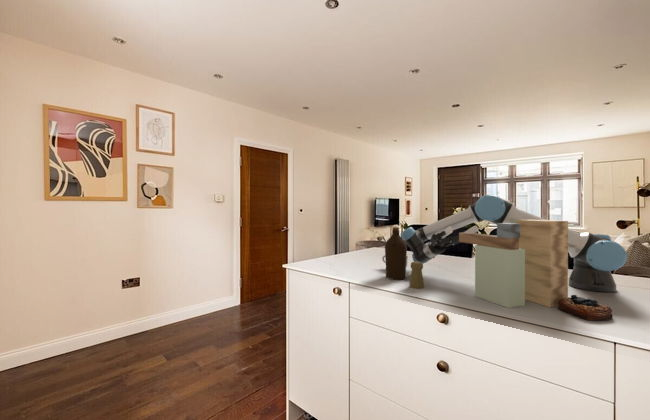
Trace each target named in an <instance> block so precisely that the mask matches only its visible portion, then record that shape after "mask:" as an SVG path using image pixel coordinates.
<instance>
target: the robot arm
mask: <svg viewBox="0 0 650 420" xmlns="http://www.w3.org/2000/svg"><path fill="white" fill-rule="evenodd" d="M517 220H546V219H544V218H542V217H541V216H537V215H535V214H532V213H529V212H528V211H525V210H523V209H520V208H518V207H516V204H515V203H514V202H511V201H509V200H507V199H504V198H501V197H500V196H498V195H497V194H496V195H495V194H485V195H483V196H480V197H479V198H478V199H477V200H476V202H475V203H473V204H470V205H469V206H468V208H465V209H464V210H461V211H458V212H456V213H455V214H452V215H449V216H447V217H444V218H442V219H439V220H437V221H434V222H432V223H430V224H427V225H425V226H423V227H420V228H418V229H416V230H415V229H414V228H413V227H412V226H410V227H408V228H406V229H405V230H403V231H402V232H401V233H400V237H401V238H402V239H403V240H404V241H405V242H406V245H407V247H408V248H409V249H410V251H411V253H412V254H411V255H412V256H411V257H412V262H415V261H417V262H421V263H422V264H423V265H424V264H425V263H426V264H427V262H429V261H431V260H432V259H435V258H436V257H437V256H439V255H441V254H442V253H444V252H445V251H446V249H447V247H449V246H451V247H452V246H455V245H457V244H460V243H461V242H459V234H457V235H454V236H449V235H450V234H452V233H453V232H454V231H455V230H457V229H460V228H463V227H465V226H468V225H470V224H473V223H481V222H484V221H487V222H490V223H492V224H494V225H496V226H497V223H513V224H517ZM464 232H467V233H478V232H479V230H478V228H477V225H474V226H472V227H470V228H468V229H467V230H464ZM447 236H448V237H447ZM427 241H428V242H427ZM425 242H426V243H425ZM568 255H569V256H570V258H571V259H572V258H573V269H572V271H571V273H570V275H569V276H568V286H571V287H573V288H577V289H581V290H585V291H593V292H601V293H602V292H603V293H614V292H617V283H616V282H615V279H614V276H613V273H612V271H617V270H619V269H620V268H623V266H625V264H626V263H627V259H628V254H627V251H626V249H625V248H624V247H623V245H621V244H620V243H618V242H616V241H614V240H612V239H611V236H610V235H608V234H600V233H599V234H597V233H591V232H588V231H586V232H578V231H575V230H573V229H570V228H568Z"/></svg>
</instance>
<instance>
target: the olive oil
mask: <svg viewBox="0 0 650 420" xmlns="http://www.w3.org/2000/svg"><path fill="white" fill-rule="evenodd" d="M391 231H392V232H391V236H390V237H389V238H388V239H387V240H386V241H385V245H384V255H385V257H384V260H385V261H386V263H385V278H387V279H388V280H392V281H401V280H402V281H403V280H405V279H406V274H407V272H406V271H407V269H406V268H407V267H406V256H408V255H407V251H408V245H407V244H406V242H405V241H404V240H403V238H402V237H401V234H400V227H398V226H396V227H395V226H394V227H392V230H391Z"/></svg>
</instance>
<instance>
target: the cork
mask: <svg viewBox="0 0 650 420" xmlns="http://www.w3.org/2000/svg"><path fill="white" fill-rule="evenodd" d="M410 268H411V274H410V282H409V288H412V289H416V290H417V289H418V290H422V289H424V288H425V284H424V278H423V271H422V270H423V268H424V264H422V263H421V262H417V261H415V262H414V261H412V262H410Z"/></svg>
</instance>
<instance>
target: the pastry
mask: <svg viewBox="0 0 650 420" xmlns="http://www.w3.org/2000/svg"><path fill="white" fill-rule="evenodd" d="M558 304H559V305H558V306H557V309H558V310H559V311H561V312H562V313H566V314H568V315H570V316H572V317H576V318H579V319H582V320H585V321H589V322H605V321H609V320H613V317H614V315H613V309H612V308H611V307H610V306H608V304H607V305H606V304H602V303H598V301H597V300H596V299H592V298H585V297H582V296H577V294H572V295H570V297H568V298H566V297H565V298H564V297H563V298H560V299H559V301H558Z"/></svg>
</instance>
